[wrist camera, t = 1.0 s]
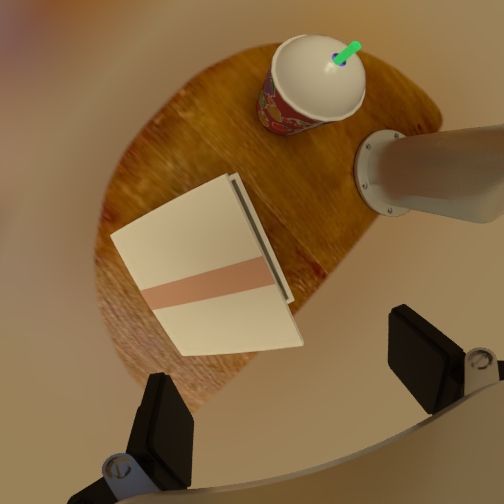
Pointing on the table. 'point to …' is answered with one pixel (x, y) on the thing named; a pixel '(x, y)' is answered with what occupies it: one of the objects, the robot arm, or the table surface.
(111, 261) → the table surface
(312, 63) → the smoothie
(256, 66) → the table surface
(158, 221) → the lid
